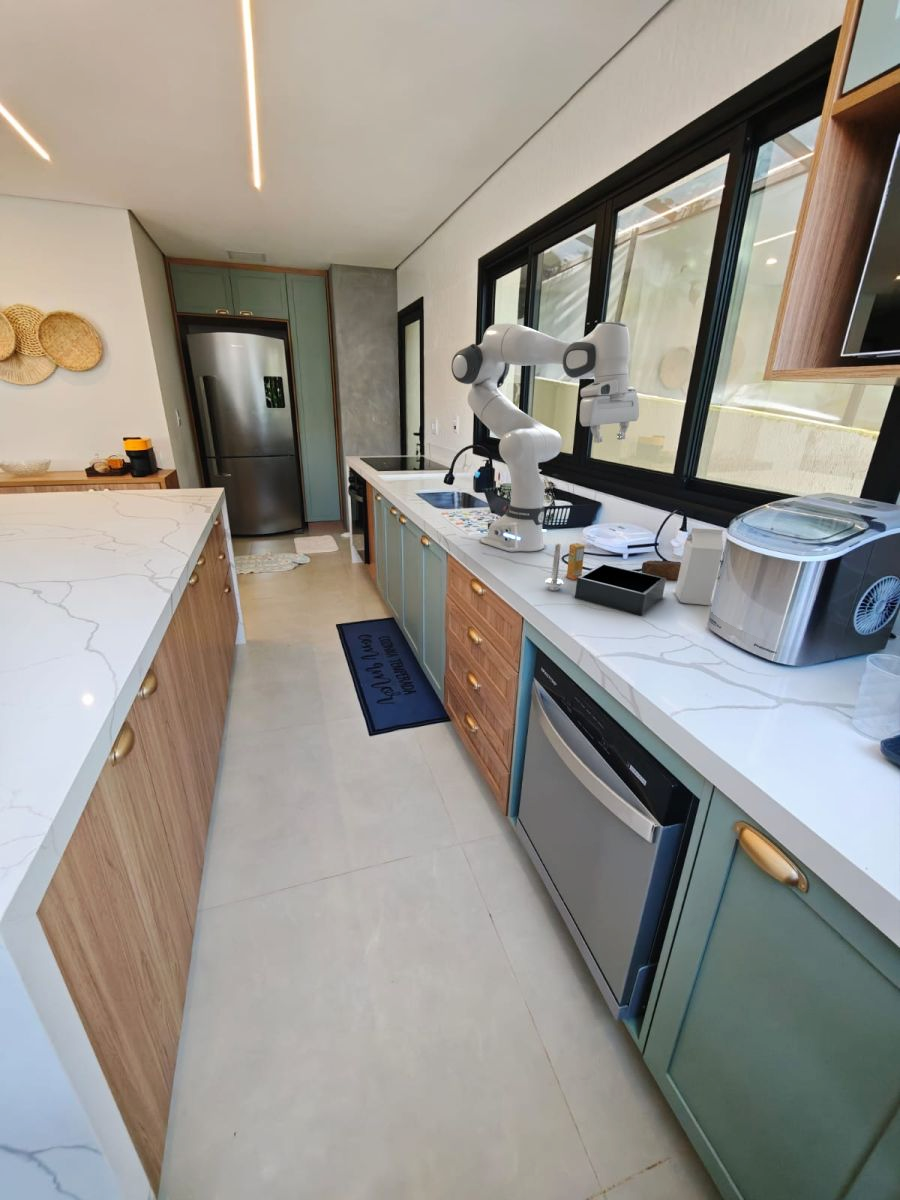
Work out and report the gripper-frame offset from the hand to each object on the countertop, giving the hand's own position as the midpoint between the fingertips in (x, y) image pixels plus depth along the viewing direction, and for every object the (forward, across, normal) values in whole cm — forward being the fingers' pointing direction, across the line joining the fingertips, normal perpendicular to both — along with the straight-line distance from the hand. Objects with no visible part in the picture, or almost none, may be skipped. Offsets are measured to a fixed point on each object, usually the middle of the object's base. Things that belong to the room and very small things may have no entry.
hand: (609, 441), depth 142 cm
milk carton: (+41, 0, +28) cm, 49 cm away
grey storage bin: (+38, +16, +18) cm, 45 cm away
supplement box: (+37, +15, +1) cm, 40 cm away
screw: (+37, +26, +5) cm, 45 cm away
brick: (+40, -8, +13) cm, 42 cm away
